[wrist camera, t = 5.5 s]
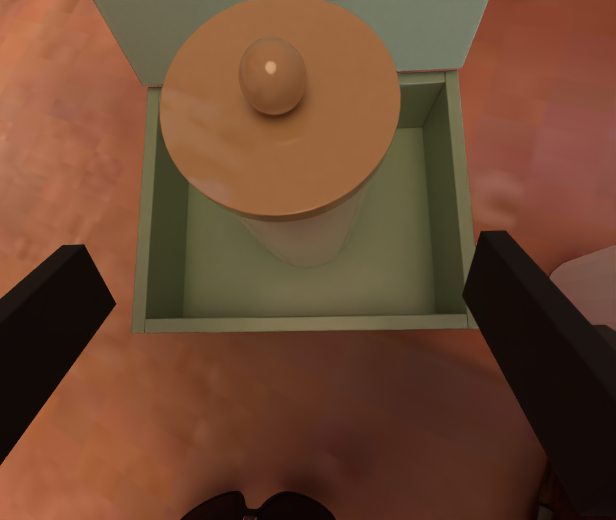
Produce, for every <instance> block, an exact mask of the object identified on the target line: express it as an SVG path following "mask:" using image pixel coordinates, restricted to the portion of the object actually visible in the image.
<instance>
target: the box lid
mask: <svg viewBox="0 0 616 520" xmlns="http://www.w3.org/2000/svg"><path fill="white" fill-rule="evenodd" d="M93 1H94V3H95V4H96V6H97V8H98V9H99V11H100V13H101V15H102V16H103V18H104V20H105V22H106V23H107V25H108V27H109V28H110V30H111V32H112V34H113V35H114V37H115V39H116V40H117V42H118V44H119V46H120V47H121V49H122V51H123V53H124V54H125V56H126V58H127V59H128V61H129V63H130V65H131V66H132V68H133V70H134V72H135V73H136V75H137V77H138V78H139V80H140V82H141V84H142V85H143V86H146V85H163V83H164V80H165V76H166V74H167V71H168V69H169V67H170V64H171V62H172V61H173V59H174V57H175V55H176V54H177V52H178V50H179V49H180V48H181V46H182V45H183V44H184V43H185V41H186V40H187V39H188V38H189V37H190V36H191V35H192V34H193V33H194V32H195V31H196V30H197V28H199V27H200V26H201V25H202V24H204V23H205V22H206V21H207V20H209V19H210V18H212V17H213V16H215V15H216V14H218V13H220V12H221V11H223V10H225V9H227V8H229V7H231V6H233V5H235V4H238V3H241V2H244V1H247V0H93ZM326 1H328V2H331V3H334V4H337V5H339V6H341V7H343V8H344V9H346V10H348V11H350V12H352V13H353V14H354V15H356V16H357V17H359V18H360V19H362V20H363V21H364V22H365V23H366V24H367V25H368V26H369V27H371V28H372V29H373V31H374V32H375V33H376V34H377V35H378V36H379V38H380V39H381V40H382V42H383V43H384V45H385V46H386V48H387V50H388V51H389V53H390V55H391V58H392V60H393V62H394V64H395V68H396V71H397V72H399V71H417V70H435V69H453V68H462V66H463V64H464V61H465V59H466V56H467V54H468V51H469V48H470V46H471V43H472V41H473V38H474V36H475V33H476V31H477V28H478V25H479V23H480V20H481V18H482V15H483V13H484V10H485V8H486V5H487V2H488V0H326Z"/></svg>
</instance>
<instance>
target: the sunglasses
mask: <svg viewBox="0 0 616 520" xmlns="http://www.w3.org/2000/svg"><path fill="white" fill-rule="evenodd" d="M244 516H245V519H244V520H255V518H256V517H257V520H336V519H335V517H334V516H333V514H332V513H331V512H330V511H329V510H328V509H327V508H326V507H325V506H323V505H322V504H320V503H319V502H317V501H316V500H314V499H312V498H310V497H307V496H305V495H302V494H299V493H296V492H290V491H284V492H280V493H277V494H275V495H273V496H272V497H270V498H269V499H268V500H266V501H265V502H264V503H263V505H262V506H261V507H260V508H258V509H248V508H247V506H246V504H245V499H244V496H243V494H242V493H241V492H240V491H231V492H227V493H223V494H220V495H218V496H215V497H213V498H211V499H209V500H207V501H205V502H203V503H202V504H200V505H198V506H197V507H195V508H194V509H192V510H191V511H190V512H188V513H187V514H186V515H185V516H183V517H182V518H181V519H180V520H243V518H244Z"/></svg>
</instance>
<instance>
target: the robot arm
mask: <svg viewBox="0 0 616 520" xmlns="http://www.w3.org/2000/svg"><path fill="white" fill-rule="evenodd" d="M462 297H463V299H464V301H465V303H466V305H467V307H468V308H469V310H470V312H471V314H472V316H473V318H474V320H475V322H476V323H477V325H478V327H479V329H480V331H481V333H482V335H483V337H484V338H485V340H486V342H487V344H488V346H489V348H490V350H491V352H492V354H493V355H494V357H495V359H496V361H497V363H498V365H499V367H500V369H501V370H502V372H503V374H504V376H505V378H506V380H507V382H508V384H509V385H510V387H511V389H512V391H513V393H514V395H515V397H516V399H517V400H518V402H519V404H520V406H521V408H522V410H523V412H524V414H525V415H526V417H527V419H528V421H529V423H530V425H531V427H532V429H533V430H534V432H535V434H536V436H537V438H538V440H539V442H540V444H541V445H542V447H543V449H544V451H545V453H546V455H547V457H548V459H549V460H550V462H551V464H552V466H553V468H554V470H555V472H556V474H557V476H558V477H559V479H560V481H561V483H562V485H563V487H564V489H565V491H566V492H567V494H568V496H569V498H570V500H571V502H572V504H573V506H574V507H575V509H576V511H577V513H578V515H579V516H616V331H614V330H613V329H611V328H610V327H608V326H607V325H592V324H591V323H590V322H589V321H588V320H587V319H586V318H585V317H584V316H583V315H582V313H581V312H580V311H579V310H578V309H577V308H576V307H575V306H574V305H573V304H572V303H571V301H570V300H569V299H568V298H567V297H566V296H565V295H564V294H563V293H562V292H561V290H560V289H559V288H558V287H557V286H556V285H555V284H554V283H553V282H552V281H551V280H550V278H549V277H548V276H547V275H546V274H545V273H544V272H543V271H542V270H541V269H540V268H539V266H538V265H537V264H536V263H535V262H534V261H533V260H532V259H531V258H530V257H529V256H528V254H527V253H526V252H525V251H524V250H523V249H522V248H521V247H520V246H519V245H518V243H517V242H516V241H515V240H514V239H513V238H512V237H511V236H510V235H509V234H508V233H507V231H506V230H503V231H481V233H480V236H479V239H478V243H477V246H476V249H475V253H474V256H473V259H472V263H471V266H470V270H469V273H468V276H467V280H466V283H465V286H464V290H463V293H462ZM115 305H116V302H115V301H114V299H113V297H112V295H111V293H110V291H109V290H108V288H107V286H106V284H105V282H104V280H103V278H102V277H101V275H100V273H99V271H98V269H97V267H96V265H95V264H94V262H93V260H92V258H91V256H90V254H89V253H88V251H87V249H86V247H85V245H84V244H83V245H62V246H61V247H60V248H59V249H57V250H56V251H55V252H54V253H53V254H52V255H50V256H49V257H48V258H47V259H46V260H45V261H44V262H42V263H41V264H40V265H39V266H38V267H37V268H36V269H34V270H33V271H32V272H31V273H30V274H29V275H27V276H26V277H25V278H24V279H23V280H22V281H21V282H19V283H18V284H17V285H16V286H15V287H14V288H12V289H11V290H10V291H9V292H8V293H7V294H6V295H4V296H3V297H2V298H1V299H0V465H1V464H2V462H3V461H4V460H5V458H6V457H7V456H8V454H9V453H10V451H11V450H12V449H13V447H14V446H15V444H16V443H17V442H18V440H19V439H20V437H21V436H22V435H23V433H24V432H25V430H26V429H27V428H28V426H29V425H30V423H31V422H32V421H33V419H34V418H35V417H36V415H37V414H38V412H39V411H40V410H41V408H42V407H43V405H44V404H45V403H46V401H47V400H48V398H49V397H50V396H51V394H52V393H53V391H54V390H55V389H56V387H57V386H58V384H59V383H60V382H61V380H62V379H63V378H64V376H65V375H66V373H67V372H68V371H69V369H70V368H71V366H72V365H73V364H74V362H75V361H76V359H77V358H78V357H79V355H80V354H81V352H82V351H83V350H84V348H85V347H86V346H87V344H88V343H89V341H90V340H91V339H92V337H93V336H94V334H95V333H96V332H97V330H98V329H99V327H100V326H101V325H102V323H103V322H104V320H105V319H106V318H107V316H108V315H109V313H110V312H111V311H112V309H113V308H114V307H115Z"/></svg>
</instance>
